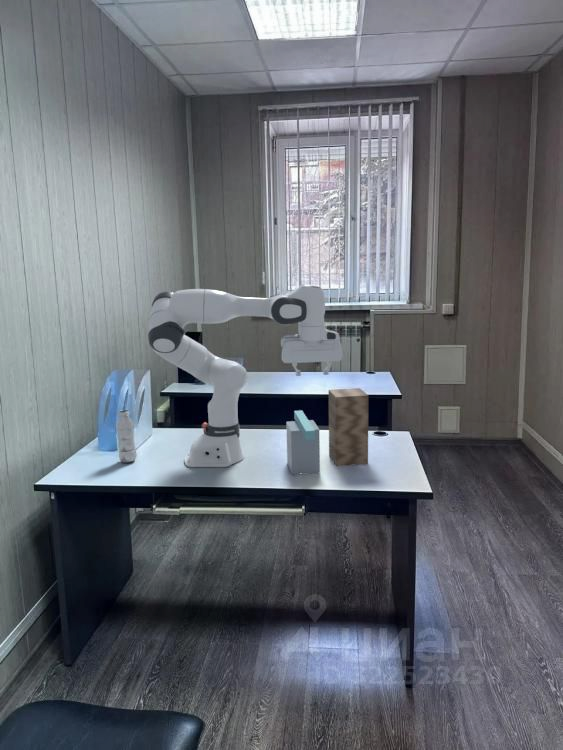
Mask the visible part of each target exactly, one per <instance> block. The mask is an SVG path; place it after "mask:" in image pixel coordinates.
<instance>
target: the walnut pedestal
mask: <svg viewBox="0 0 563 750" xmlns="http://www.w3.org/2000/svg"><path fill="white" fill-rule="evenodd" d="M328 456H329V457H330V459H331V461H332V462H333V464H334V466H335V467H346V466H358V465H359V466H360V465H361V464H362V465H369V394H367V393H366V392H365V391H364V390H362V389H361V388H359V387H356V388H354V387H353V388H338V389H336V388H335V389H328Z"/></svg>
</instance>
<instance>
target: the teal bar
mask: <svg viewBox="0 0 563 750" xmlns="http://www.w3.org/2000/svg"><path fill="white" fill-rule="evenodd" d="M293 414H294V415H293V417H294V421H296V422H297V424H298V426H299V428H300V430H301V431H302V433H303V435H304V437H305V439H306V440H312V439H315V430H314V428H313V427H312V425H311V423H310V422H309V419H308V417H307V416H306V414H305V413H304V411H303V410H301V409H300V410H294V411H293Z"/></svg>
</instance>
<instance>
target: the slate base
mask: <svg viewBox="0 0 563 750" xmlns="http://www.w3.org/2000/svg"><path fill="white" fill-rule="evenodd" d="M308 420H309V419H308ZM309 422H310V423H311V425H312V427H313V428H314V430H315V439H312V440H306V439H305V437H304V435H303V433H302V431H301V430H300V428H299V426H298V424H297V422H296V421H295V420H294V421H293V420H291V421H286V423H285V424H286V427H285V428H286V457H287V458H286V460H287V461H286V462H287V465H288V467H289V470H290V473H291V475H292V474H294V475H301V474H300V473H308V474H318V472H320V473H321V467H320V466H321V464H320V463H321V461H320V459H321V458H320V456H321V454H320V453H321V451H320V449H321V447H320V445H321V444H320V428H319V426H318V425H317V424H316V422H315V421H314V419H310V420H309Z"/></svg>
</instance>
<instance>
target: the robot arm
mask: <svg viewBox="0 0 563 750" xmlns="http://www.w3.org/2000/svg"><path fill="white" fill-rule="evenodd" d="M325 298H326V297H325V293H324V290H323V289H322V288H321V287H320V286H317V285H313V284H306V283H305V284H300V285H299V286H298V287H297V288H295V289H293V290H291V291H289V292H288V293H283V292H282V293H281V292H280V293H277V294H273V295H272V296H269V297H247V296H246V297H245V296H237V295H235V294H232V293H229V292H225V291H221V290H217V289H209V288H205V289H204V288H191V289H181V290H176V291H175V292H171V291H162V292H160V293H158V294H156V296H155V297H154V299H153V300H152V303H151V304H152V305H151V309H150V313H149V319H148V321H149V323H148V324H149V326H148V334H147V336H148V344H149V346H150V347H151V349H152V350H153V352H155V353H156V354H157V355H158V356H159V357H160V358H162V359H164V360H165V361H167V362H168V363H170V364H172V365H174V366H175V367H177V368H179V369H181V370H182V371H185V372H187V373H188V374H190V375H191V376H193V377H194V378H196V379H198V381H201V382H202V383H204V384H205V385H207V386H211V387H213V393H212V396H211V397H212V398H211V400H209V401H208V403H207V413H208V417H207V418H208V423H207V422H206V421H205V422H203V423H202V428H203V434H202V435H200V436H199V437H197V438H196V440H194V441H193V442H192V444H191V445H190V449H189V453H187V454H186V455H185V456H184V465H185V466H186V467H188V468H227V467H230V466H231V465H233V464H238V463H239V462H241V461H243V459H244V458H245V457H244V454H243V451H242V447H241V442H240V441H241V440H240V435H241V432H240V431H241V429H240V427H241V426H240V422H239V418H238V417H239V416H238V412H239V411H238V403H239V402H238V401H239V397H240V393H241V390H242V389H243V388H244V387H245V386H246V384H247V381H248V372H247V369H246V368H245V367H244V366H243V365H242V364H240V363H238V362H237V361H234V360H229V359H225V358H222V357H219V356H216V355H215V354H213V352H211V351H210V350H208V349H207V347H206V346H204V345H203V344H202V343H199V342H198V341H196V340H195V339H192V338H191V337H189V336H188V335H185V332H186V331H185V329H184V328H185V326H187V325H188V324H204V325H205V324H206V325H213V324H222V323H226V322H228V321H230V320H233V319H235V318H239V317H265V318H269V319H271V320H273V321H274V322H276V323H277V324H278V325H281V326H289V325H292V324H293V325H294V324H297V323H298V331H297V332H298V334H285V335H284V336H282V337H281V339H280V347H281V348H282V349H281V360H282V362H283V363H284V364H291V365H292V367H293V370H295V376H296V377H301V376H302V374H301V372H302V371H301V370H300V369H298V368H297V366H298V363H299V364H302V363H322V362H324V363H326V365H327V366H326V367H325V368H323V370H322V371H323V372H322V373H323V376H326V375H329V373H330V372H329V371H330V369H331V366H332V365H333V362H341V361H342V359H343V357H344V355H343V347H342V343H341V342H340V340H339V339H340V334H339V333H338V332H337V331H334V330H331V329H328V328H326V322H325V314H326V302H325V301H326V300H325Z"/></svg>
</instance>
